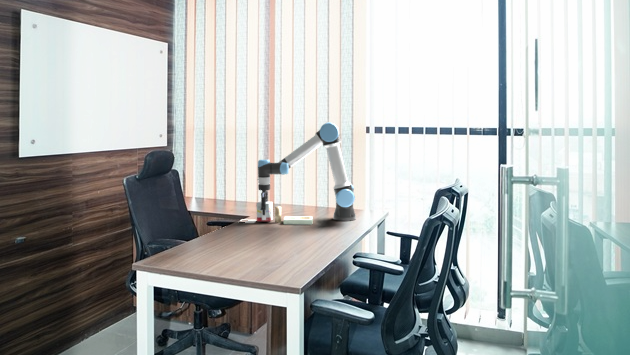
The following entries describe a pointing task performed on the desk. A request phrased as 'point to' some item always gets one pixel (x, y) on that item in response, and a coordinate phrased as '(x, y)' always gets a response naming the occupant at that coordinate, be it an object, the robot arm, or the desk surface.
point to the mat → (250, 221)
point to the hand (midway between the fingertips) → (265, 218)
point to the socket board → (298, 220)
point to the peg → (277, 214)
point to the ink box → (268, 211)
